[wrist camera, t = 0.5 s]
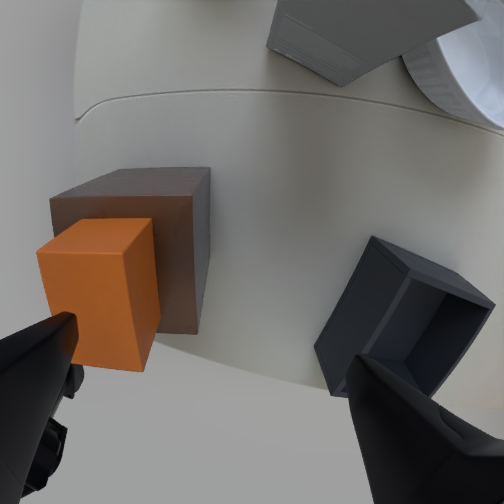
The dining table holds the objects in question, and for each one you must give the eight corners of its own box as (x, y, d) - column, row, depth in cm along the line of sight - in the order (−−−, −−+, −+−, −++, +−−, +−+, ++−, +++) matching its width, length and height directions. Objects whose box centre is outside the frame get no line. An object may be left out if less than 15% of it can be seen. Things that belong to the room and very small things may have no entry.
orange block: (161, 317, 15) (143, 373, 11) (97, 313, 14) (67, 363, 11) (152, 217, 13) (122, 252, 9) (80, 218, 13) (35, 251, 9)
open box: (401, 363, 30) (426, 403, 24) (313, 346, 28) (330, 396, 22) (457, 273, 27) (496, 304, 20) (371, 235, 24) (410, 268, 18)
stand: (209, 257, 24) (197, 335, 15) (124, 256, 24) (73, 326, 15) (210, 167, 22) (192, 194, 13) (118, 169, 21) (48, 198, 12)
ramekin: (433, -28, 15) (475, -51, 9) (509, 80, 19) (558, 80, 13) (352, 31, 18) (393, 2, 12) (448, 155, 22) (503, 168, 16)
